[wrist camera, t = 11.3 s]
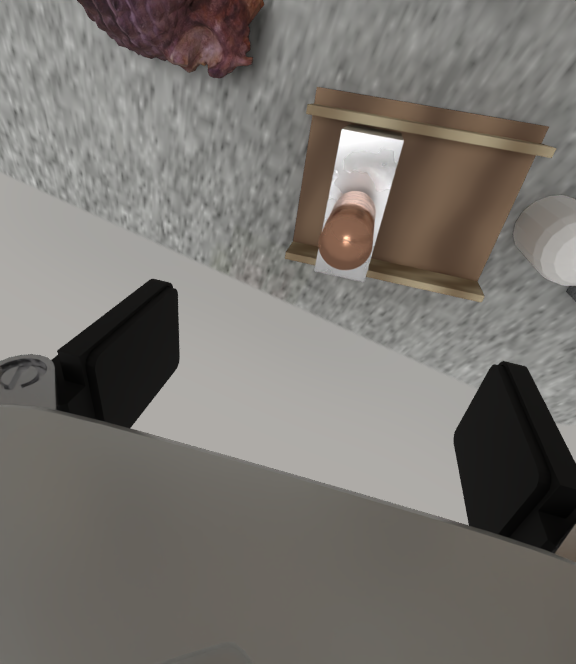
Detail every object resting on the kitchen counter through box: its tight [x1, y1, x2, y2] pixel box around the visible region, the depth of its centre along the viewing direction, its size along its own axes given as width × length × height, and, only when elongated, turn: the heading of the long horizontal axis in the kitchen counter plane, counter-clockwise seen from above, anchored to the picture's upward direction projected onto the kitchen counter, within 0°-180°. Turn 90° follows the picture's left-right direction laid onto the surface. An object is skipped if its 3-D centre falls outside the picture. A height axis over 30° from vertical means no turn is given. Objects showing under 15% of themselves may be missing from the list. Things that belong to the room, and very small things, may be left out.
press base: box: [285, 87, 556, 302], centre depth 31 cm, size 17×14×4 cm
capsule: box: [513, 195, 576, 286], centre depth 28 cm, size 5×5×8 cm
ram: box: [314, 124, 404, 282], centre depth 27 cm, size 4×10×13 cm, turn 172°
